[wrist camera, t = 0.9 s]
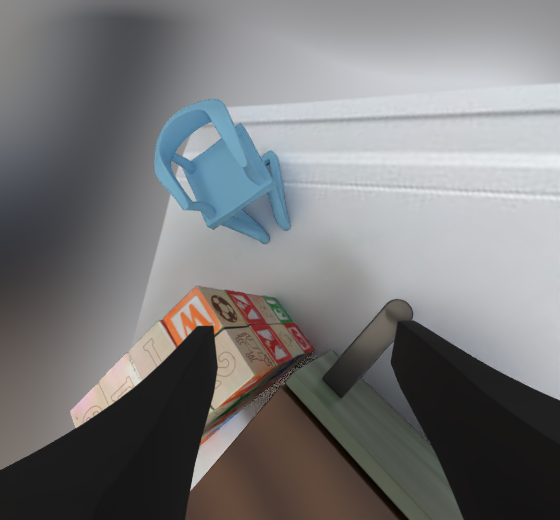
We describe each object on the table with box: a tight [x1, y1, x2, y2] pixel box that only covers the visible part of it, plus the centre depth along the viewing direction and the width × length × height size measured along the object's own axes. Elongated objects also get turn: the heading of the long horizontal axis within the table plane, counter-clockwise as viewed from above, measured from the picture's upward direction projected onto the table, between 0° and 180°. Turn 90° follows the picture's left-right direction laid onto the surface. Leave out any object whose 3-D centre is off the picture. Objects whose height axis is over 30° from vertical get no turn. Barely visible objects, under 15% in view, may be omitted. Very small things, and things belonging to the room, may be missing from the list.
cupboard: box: [185, 384, 409, 520], centre depth 18 cm, size 10×15×11 cm
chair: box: [154, 99, 290, 244], centre depth 25 cm, size 8×8×12 cm
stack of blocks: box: [70, 286, 314, 445], centre depth 23 cm, size 21×6×12 cm, turn 131°
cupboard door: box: [285, 299, 463, 520], centre depth 17 cm, size 8×15×10 cm, turn 49°
